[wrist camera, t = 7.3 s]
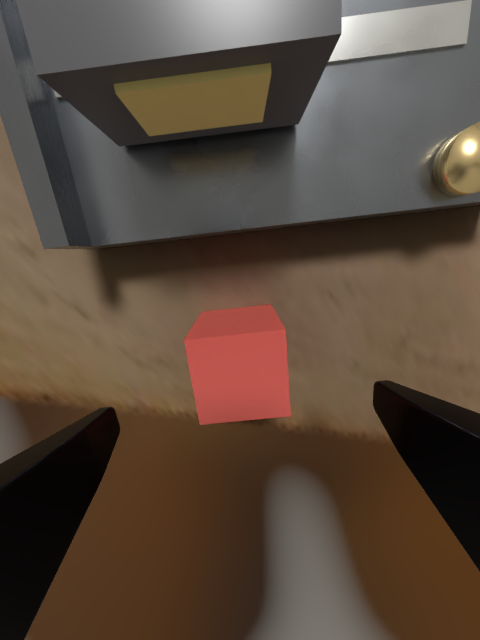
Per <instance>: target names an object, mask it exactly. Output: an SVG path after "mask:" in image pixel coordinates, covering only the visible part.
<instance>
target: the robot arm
mask: <svg viewBox="0 0 480 640" xmlns="http://www.w3.org/2000/svg"><path fill="white" fill-rule="evenodd" d="M373 406H374V409H375V411H376V413H377V415H378V417H379V419H380V420H381V422H382V424H383V426H384V428H385V429H386V431H387V433H388V435H389V437H390V439H391V440H392V442H393V444H394V446H395V447H396V449H397V451H398V453H399V454H400V455H401V457H402V459H403V460H404V462H405V463H406V465H407V466H408V467H409V469H410V470H411V472H412V473H413V475H414V476H415V477H416V479H417V480H418V482H419V484H420V485H421V486H422V488H423V489H424V491H425V492H426V494H427V495H428V497H429V498H430V500H431V501H432V502H433V504H434V505H435V507H436V508H437V509H438V511H439V513H440V514H441V516H442V517H443V519H444V520H445V521H446V523H447V524H448V526H449V527H450V529H451V530H452V532H453V533H454V535H455V536H456V537H457V539H458V540H459V542H460V543H461V545H462V546H463V548H464V549H465V551H466V552H467V553H468V555H469V556H470V558H471V559H472V561H473V562H474V564H475V565H476V567H477V568H478V570H479V571H480V414H479V413H477V412H474V411H471V410H468V409H466V408H463V407H460V406H457V405H455V404H452V403H449V402H446V401H444V400H441V399H438V398H435V397H433V396H430V395H427V394H424V393H422V392H419V391H416V390H413V389H411V388H408V387H405V386H402V385H400V384H397V383H394V382H391V381H388V380H385V381H377V382H375V384H374V391H373ZM119 433H120V425H119V422H118V419H117V415H116V412H115V409H114V408H113V407H104V408H99V409H98V410H96V411H94V412H92V413H90V414H89V415H87V416H85V417H83V418H82V419H80V420H78V421H76V422H74V423H73V424H71V425H69V426H67V427H65V428H64V429H62V430H60V431H58V432H57V433H55V434H53V435H51V436H49V437H48V438H46V439H44V440H42V441H40V442H39V443H37V444H35V445H33V446H31V447H30V448H28V449H26V450H24V451H23V452H21V453H19V454H17V455H16V456H14V457H12V458H10V459H8V460H7V461H5V462H3V463H1V464H0V640H24V639H25V637H26V635H27V632H28V631H29V628H30V627H31V624H32V622H33V620H34V618H35V616H36V614H37V612H38V610H39V608H40V606H41V604H42V602H43V600H44V598H45V596H46V593H47V592H48V589H49V587H50V585H51V583H52V581H53V579H54V577H55V575H56V573H57V571H58V569H59V566H60V565H61V563H62V561H63V559H64V557H65V554H66V552H67V550H68V548H69V546H70V544H71V542H72V540H73V538H74V536H75V534H76V532H77V530H78V528H79V526H80V524H81V521H82V519H83V517H84V515H85V513H86V511H87V509H88V507H89V505H90V503H91V501H92V499H93V497H94V495H95V493H96V491H97V489H98V486H99V484H100V482H101V480H102V477H103V475H104V473H105V470H106V468H107V465H108V462H109V460H110V457H111V455H112V451H113V449H114V447H115V444H116V441H117V438H118V436H119Z"/></svg>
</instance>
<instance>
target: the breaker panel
mask: <svg viewBox="0 0 480 640" xmlns="http://www.w3.org/2000/svg"><path fill="white" fill-rule="evenodd" d="M0 115H1V118H2V121H3V124H4V127H5V130H6V133H7V136H8V139H9V142H10V145H11V149H12V152H13V155H14V158H15V161H16V164H17V167H18V170H19V173H20V176H21V179H22V182H23V186H24V189H25V192H26V195H27V198H28V201H29V204H30V207H31V210H32V213H33V216H34V220H35V223H36V226H37V229H38V232H39V235H40V238H41V241H42V244H43V247H44V249H102V248H111V247H119V246H128V245H137V244H145V243H154V242H163V241H172V240H180V239H189V238H198V237H206V236H215V235H224V234H233V233H241V232H250V231H259V230H267V229H276V228H285V227H294V226H302V225H311V224H320V223H328V222H337V221H346V220H355V219H363V218H372V217H381V216H389V215H398V214H407V213H416V212H424V211H433V210H442V209H450V208H459V207H468V206H477V205H480V0H342V34H341V36H340V38H339V40H338V42H337V44H336V46H335V49H334V51H333V53H332V55H331V57H330V59H329V61H328V63H327V65H326V68H325V70H324V72H323V74H322V76H321V78H320V80H319V82H318V84H317V87H316V89H315V91H314V93H313V95H312V97H311V99H310V101H309V103H308V106H307V108H306V110H305V112H304V114H303V116H302V118H301V120H300V122H299V124H297V125H289V126H281V127H273V128H265V129H257V130H249V131H241V132H233V133H225V134H217V135H209V136H201V137H194V138H186V139H178V140H170V141H162V142H154V143H146V144H138V145H130V146H122V147H119V146H118V145H117V144H116V143H115V142H114V141H112V140H111V139H110V138H109V137H108V136H107V135H105V134H104V133H103V132H102V131H101V130H100V129H99V128H97V127H96V126H95V125H94V124H93V123H92V122H90V121H89V120H88V119H87V118H86V117H85V116H83V115H82V114H81V113H80V112H79V111H78V110H77V109H75V108H74V107H73V106H72V105H71V104H70V103H68V102H67V101H66V100H65V99H64V98H63V97H62V96H60V95H59V94H58V93H57V92H56V91H55V90H53V89H52V88H51V87H50V86H49V85H48V84H46V83H45V82H44V81H43V80H42V79H41V78H40V77H38V76H37V74H36V71H35V67H34V63H33V60H32V56H31V53H30V49H29V45H28V42H27V38H26V35H25V31H24V28H23V24H22V20H21V17H20V13H19V10H18V6H17V2H16V0H0Z"/></svg>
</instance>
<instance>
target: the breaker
mask: <svg viewBox="0 0 480 640" xmlns="http://www.w3.org/2000/svg"><path fill="white" fill-rule="evenodd" d="M16 2H17V6H18V10H19V13H20V17H21V20H22V24H23V28H24V31H25V35H26V38H27V42H28V45H29V49H30V53H31V56H32V60H33V63H34V67H35V71H36V74H37V76H38V77H40V78H41V79H42V80H43V81H44V82H45V83H46V84H48V85H49V86H50V87H51V88H52V89H53V90H55V91H56V92H57V93H58V94H59V95H60V96H62V97H63V98H64V99H65V100H66V101H67V102H68V103H70V104H71V105H72V106H73V107H74V108H75V109H77V110H78V111H79V112H80V113H81V114H82V115H83V116H85V117H86V118H87V119H88V120H89V121H90V122H92V123H93V124H94V125H95V126H96V127H97V128H99V129H100V130H101V131H102V132H103V133H104V134H105V135H107V136H108V137H109V138H110V139H111V140H112V141H114V142H115V143H116V144H117V145H118V146H119V147H122V146H130V145H138V144H146V143H154V142H162V141H170V140H178V139H186V138H194V137H201V136H209V135H217V134H225V133H233V132H241V131H249V130H257V129H265V128H273V127H281V126H289V125H297V124H299V122H300V120H301V118H302V116H303V114H304V112H305V110H306V108H307V106H308V103H309V101H310V99H311V97H312V95H313V93H314V91H315V89H316V87H317V84H318V82H319V80H320V78H321V76H322V74H323V72H324V70H325V68H326V65H327V63H328V61H329V59H330V57H331V55H332V53H333V51H334V49H335V46H336V44H337V42H338V40H339V38H340V36H341V34H342V0H16Z"/></svg>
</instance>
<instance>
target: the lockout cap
mask: <svg viewBox="0 0 480 640" xmlns="http://www.w3.org/2000/svg"><path fill="white" fill-rule="evenodd" d="M184 343H185V348H186V354H187V359H188V364H189V370H190V375H191V380H192V386H193V391H194V396H195V401H196V407H197V412H198V417H199V423H200V425H203V424H214V423H224V422H235V421H245V420H256V419H267V418H277V417H288V416H291V410H290V394H289V377H288V360H287V344H286V329H285V328H284V326H283V324H282V322H281V321H280V319H279V317H278V316H277V314H276V312H275V310H274V309H273V307H272V305H262V306H252V307H243V308H234V309H225V310H216V311H206V312H201V313H200V315H199V317H198V318H197V320H196V321H195V323H194V325H193V326H192V328H191V330H190V331H189V333H188V334H187V336H186V338H185V339H184Z"/></svg>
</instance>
